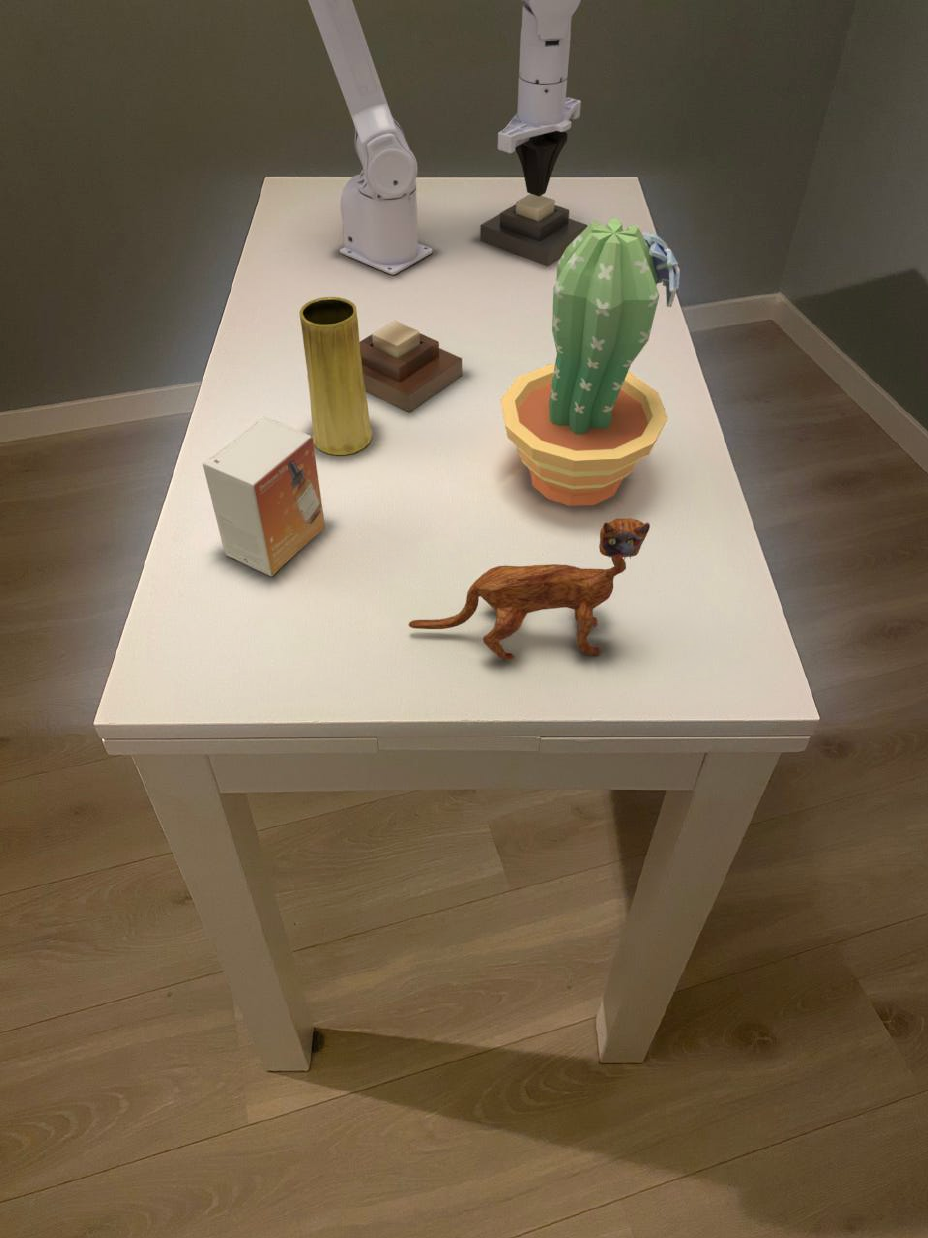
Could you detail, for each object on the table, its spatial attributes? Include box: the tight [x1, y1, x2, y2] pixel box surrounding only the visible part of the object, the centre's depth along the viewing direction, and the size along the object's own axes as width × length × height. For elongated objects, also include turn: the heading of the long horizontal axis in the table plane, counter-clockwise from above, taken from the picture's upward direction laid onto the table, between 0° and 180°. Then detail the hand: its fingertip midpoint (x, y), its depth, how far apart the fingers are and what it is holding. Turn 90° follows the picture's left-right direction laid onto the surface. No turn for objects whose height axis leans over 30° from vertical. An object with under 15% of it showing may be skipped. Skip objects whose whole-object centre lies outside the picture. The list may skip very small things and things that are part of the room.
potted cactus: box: [500, 217, 681, 507], centre depth 83 cm, size 15×15×25 cm
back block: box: [479, 203, 589, 267], centre depth 123 cm, size 11×9×4 cm
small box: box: [202, 416, 326, 577], centre depth 82 cm, size 8×6×10 cm
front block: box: [359, 325, 463, 414], centre depth 102 cm, size 11×9×4 cm
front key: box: [371, 320, 421, 359], centre depth 100 cm, size 4×4×2 cm
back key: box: [515, 193, 556, 222], centre depth 121 cm, size 4×4×2 cm
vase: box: [299, 296, 373, 456], centre depth 90 cm, size 6×6×14 cm
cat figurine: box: [408, 517, 651, 660], centre depth 73 cm, size 18×7×14 cm, turn 89°
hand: (536, 192), depth 120 cm, fingers closed
